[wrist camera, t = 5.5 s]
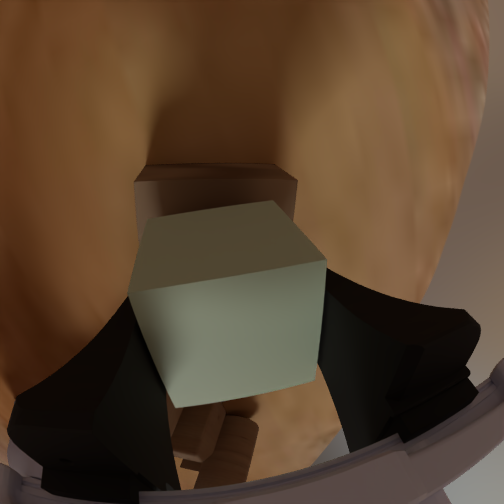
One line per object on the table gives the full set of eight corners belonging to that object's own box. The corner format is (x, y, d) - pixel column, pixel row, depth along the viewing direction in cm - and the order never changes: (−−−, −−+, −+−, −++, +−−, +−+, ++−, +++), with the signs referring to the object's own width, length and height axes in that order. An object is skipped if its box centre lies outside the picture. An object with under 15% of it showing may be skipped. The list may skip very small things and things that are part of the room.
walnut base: (154, 276, 18) (149, 317, 14) (146, 164, 15) (133, 181, 11) (263, 271, 19) (281, 309, 16) (273, 163, 16) (297, 180, 13)
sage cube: (172, 319, 13) (175, 408, 9) (147, 219, 11) (127, 293, 7) (276, 301, 14) (314, 380, 10) (272, 200, 12) (326, 259, 7)
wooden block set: (137, 346, 23) (78, 443, 14) (232, 354, 21) (187, 483, 12) (201, 441, 31) (176, 509, 22) (269, 450, 29) (251, 526, 20)
